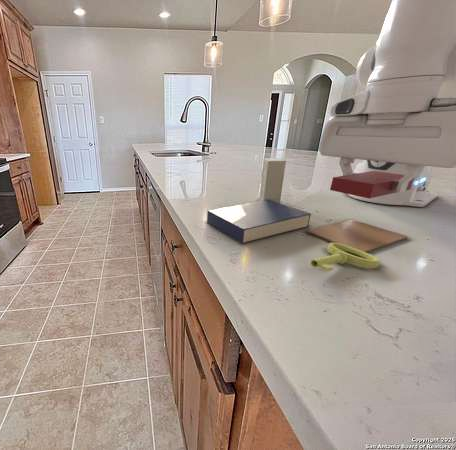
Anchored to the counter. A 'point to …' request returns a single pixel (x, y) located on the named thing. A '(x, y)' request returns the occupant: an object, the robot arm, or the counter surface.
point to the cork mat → (357, 235)
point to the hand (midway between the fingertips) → (370, 186)
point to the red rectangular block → (367, 184)
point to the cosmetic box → (272, 179)
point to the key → (345, 257)
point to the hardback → (257, 220)
